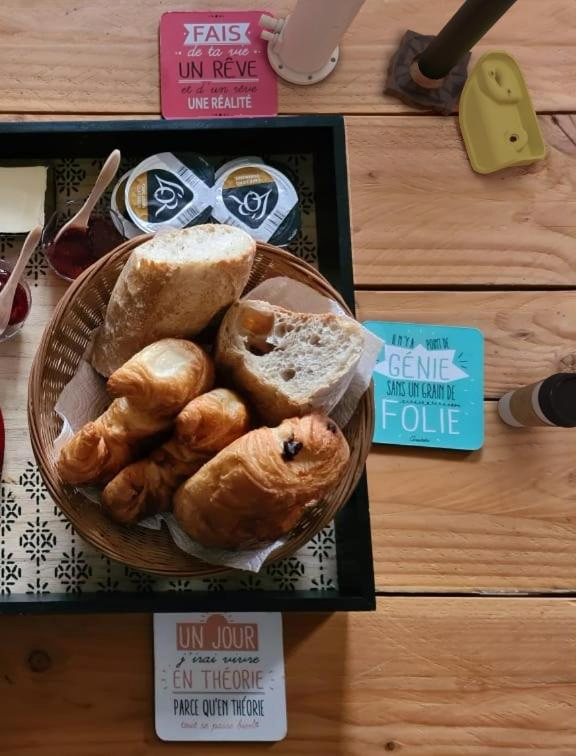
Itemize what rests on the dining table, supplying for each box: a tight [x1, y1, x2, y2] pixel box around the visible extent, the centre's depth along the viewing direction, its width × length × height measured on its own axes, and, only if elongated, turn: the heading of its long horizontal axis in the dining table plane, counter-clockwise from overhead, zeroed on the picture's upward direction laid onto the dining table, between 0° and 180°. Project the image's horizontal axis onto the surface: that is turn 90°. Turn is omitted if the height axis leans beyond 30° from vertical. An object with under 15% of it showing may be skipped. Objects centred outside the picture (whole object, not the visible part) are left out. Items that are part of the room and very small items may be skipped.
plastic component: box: [458, 49, 547, 175], centre depth 128 cm, size 20×7×10 cm
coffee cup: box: [497, 371, 576, 429], centre depth 115 cm, size 8×8×15 cm
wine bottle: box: [417, 0, 518, 81], centre depth 113 cm, size 6×6×30 cm
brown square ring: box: [382, 29, 473, 117], centre depth 130 cm, size 13×13×2 cm
